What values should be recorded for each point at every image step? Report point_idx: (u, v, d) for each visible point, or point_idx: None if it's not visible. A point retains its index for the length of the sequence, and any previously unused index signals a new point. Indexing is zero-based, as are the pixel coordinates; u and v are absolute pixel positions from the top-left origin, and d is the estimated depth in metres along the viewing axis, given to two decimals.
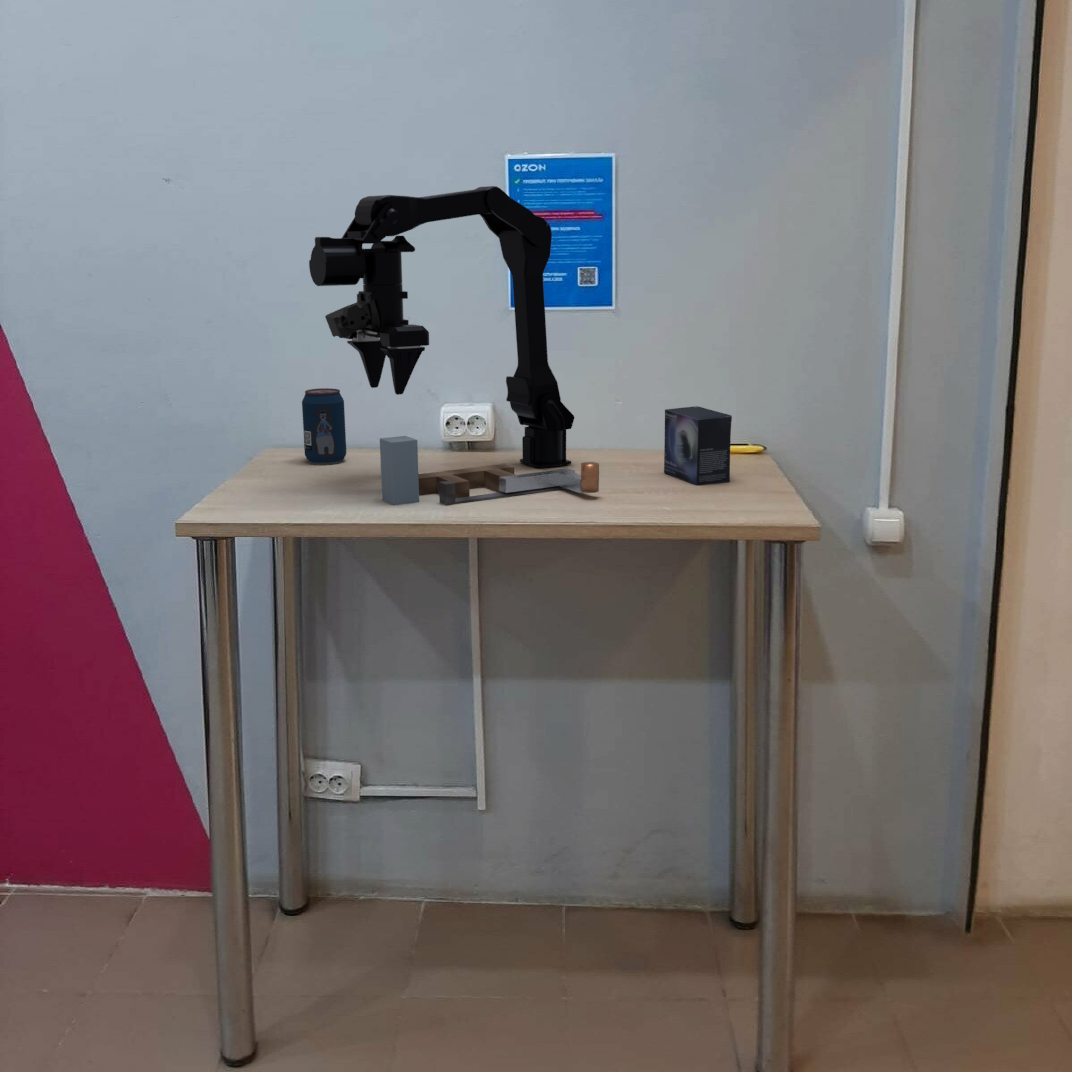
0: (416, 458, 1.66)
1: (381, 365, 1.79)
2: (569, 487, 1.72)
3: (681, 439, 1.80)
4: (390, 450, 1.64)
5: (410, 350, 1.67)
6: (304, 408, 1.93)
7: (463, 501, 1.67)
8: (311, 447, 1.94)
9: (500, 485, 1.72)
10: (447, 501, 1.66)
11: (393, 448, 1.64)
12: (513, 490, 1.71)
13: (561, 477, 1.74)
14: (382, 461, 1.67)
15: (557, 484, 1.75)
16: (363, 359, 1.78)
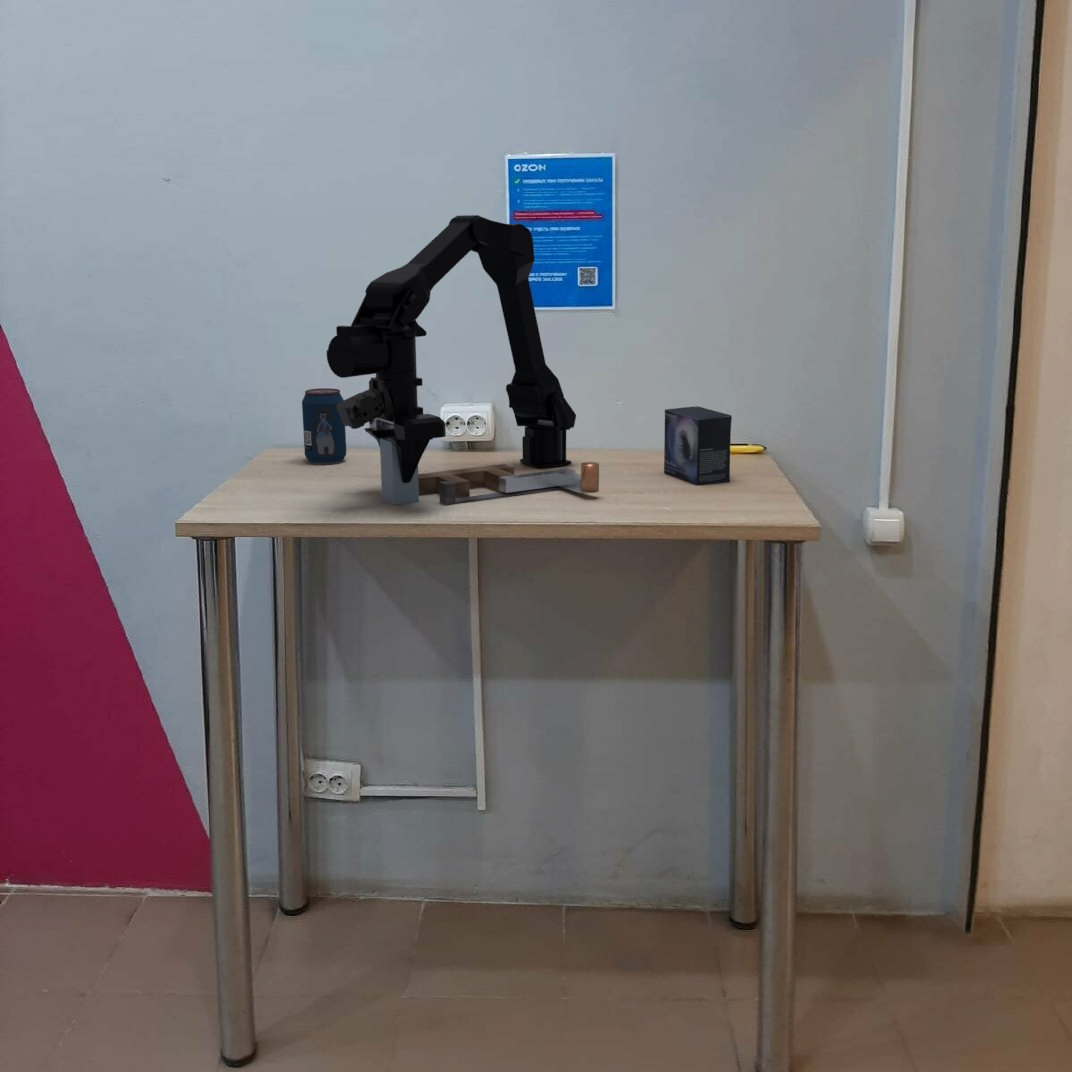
0: None
1: None
2: (569, 487, 1.72)
3: (681, 439, 1.80)
4: (390, 450, 1.64)
5: (418, 439, 1.62)
6: (304, 408, 1.93)
7: (463, 501, 1.67)
8: (311, 447, 1.94)
9: (500, 485, 1.72)
10: (447, 501, 1.66)
11: (393, 448, 1.64)
12: (513, 490, 1.71)
13: (561, 477, 1.74)
14: (382, 461, 1.67)
15: (557, 484, 1.75)
16: None
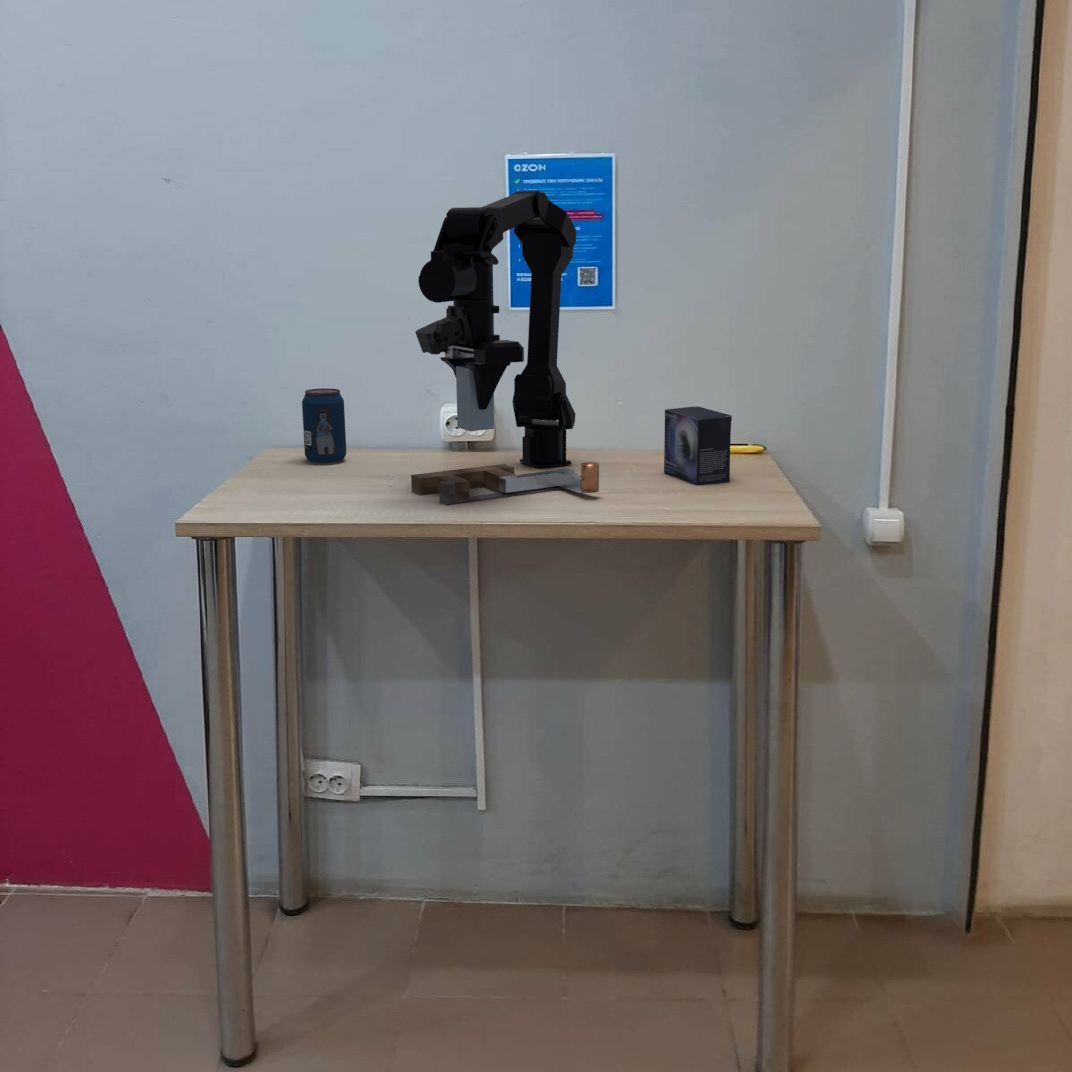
0: None
1: None
2: (569, 487, 1.72)
3: (681, 439, 1.80)
4: (467, 376, 1.67)
5: (496, 365, 1.65)
6: (304, 408, 1.93)
7: (463, 501, 1.67)
8: (311, 447, 1.94)
9: (500, 485, 1.72)
10: (447, 501, 1.66)
11: (471, 374, 1.67)
12: (513, 490, 1.71)
13: (561, 477, 1.74)
14: (458, 388, 1.70)
15: (557, 484, 1.75)
16: None
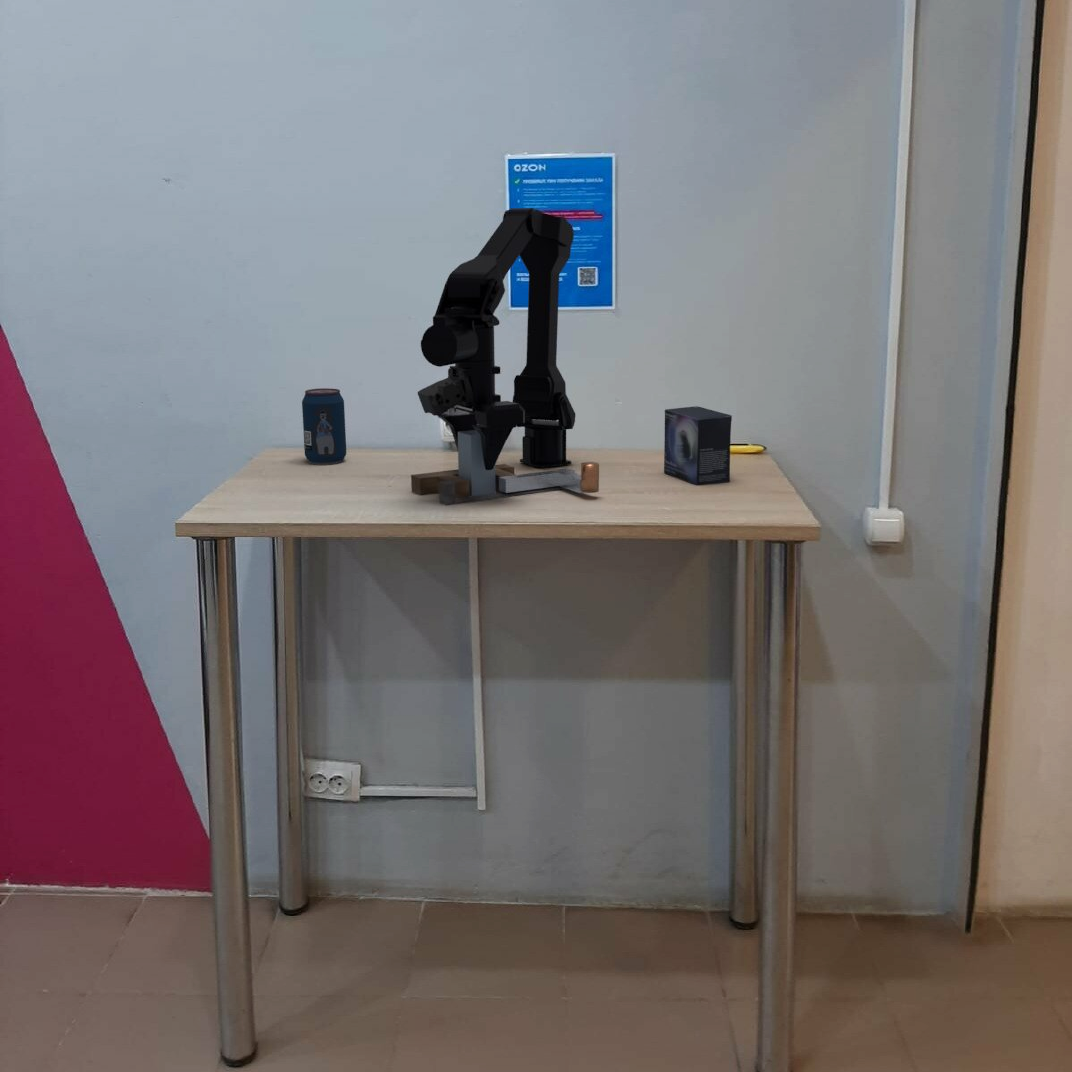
0: None
1: None
2: (569, 487, 1.72)
3: (681, 439, 1.80)
4: (469, 443, 1.70)
5: (503, 427, 1.65)
6: (304, 408, 1.93)
7: (463, 501, 1.67)
8: (311, 447, 1.94)
9: (500, 485, 1.72)
10: (447, 501, 1.66)
11: (472, 441, 1.69)
12: (513, 490, 1.71)
13: (561, 477, 1.74)
14: (460, 454, 1.72)
15: (557, 484, 1.75)
16: (454, 433, 1.75)
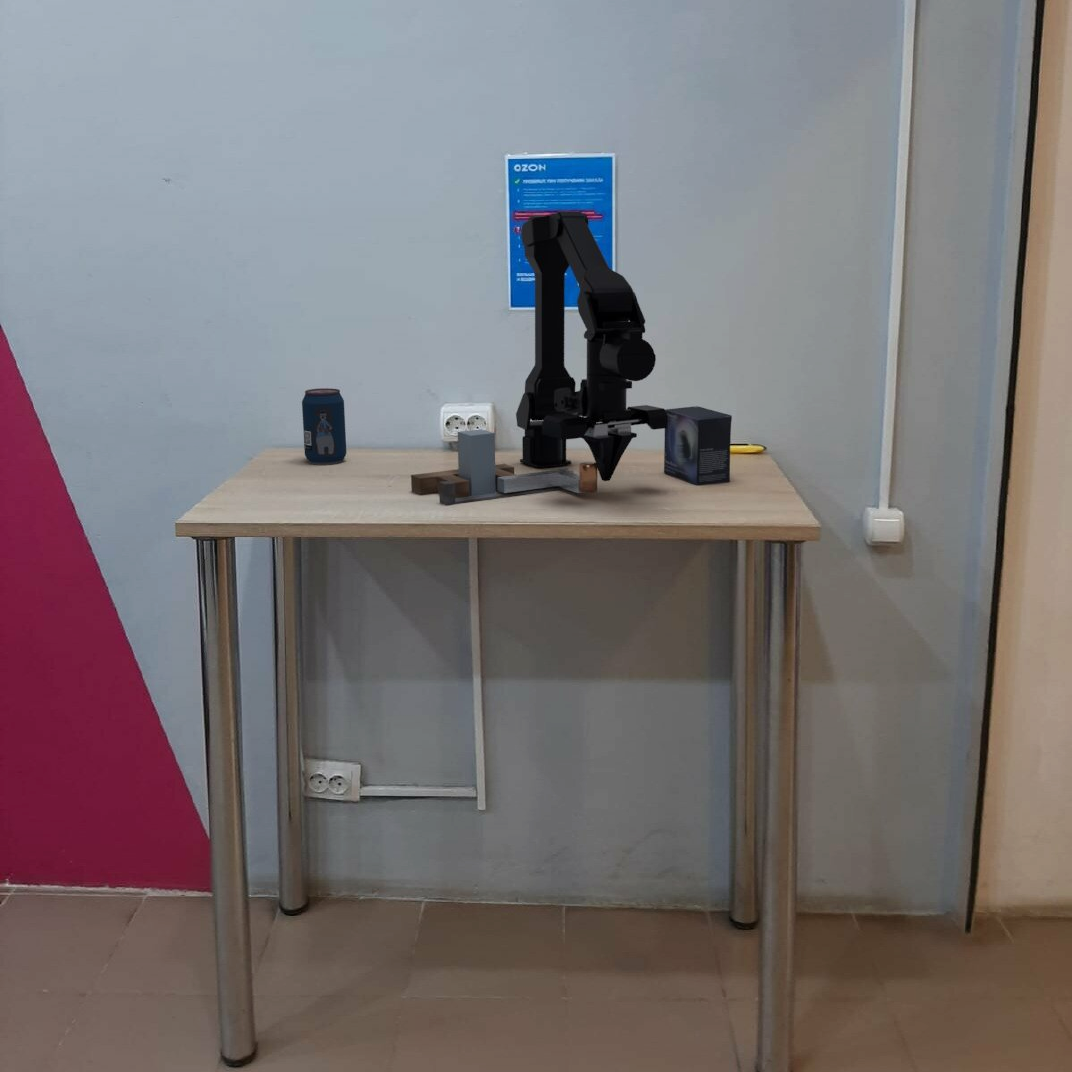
0: (493, 451, 1.71)
1: (612, 459, 1.69)
2: (567, 487, 1.72)
3: (681, 439, 1.80)
4: (468, 443, 1.70)
5: (587, 438, 1.67)
6: (304, 408, 1.93)
7: (463, 501, 1.67)
8: (311, 447, 1.94)
9: (498, 485, 1.71)
10: (447, 501, 1.66)
11: (472, 441, 1.69)
12: (511, 490, 1.71)
13: (559, 477, 1.74)
14: (460, 454, 1.72)
15: (555, 484, 1.75)
16: None
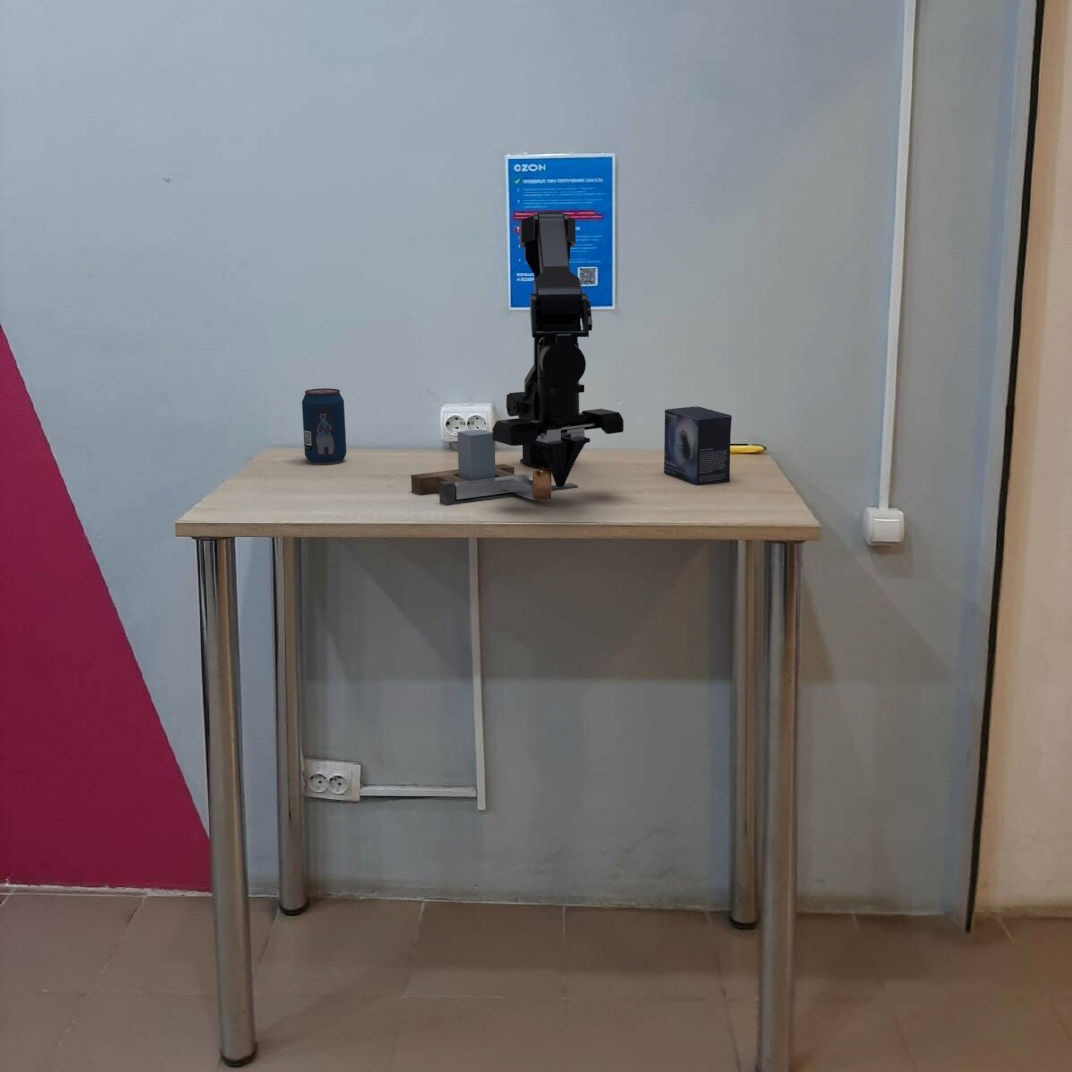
0: (493, 451, 1.71)
1: (565, 465, 1.65)
2: (522, 493, 1.68)
3: (681, 439, 1.80)
4: (468, 443, 1.70)
5: (539, 443, 1.63)
6: (304, 408, 1.93)
7: (463, 501, 1.67)
8: (311, 447, 1.94)
9: None
10: (447, 501, 1.66)
11: (472, 441, 1.69)
12: (464, 497, 1.67)
13: (514, 483, 1.70)
14: (460, 454, 1.72)
15: (510, 490, 1.71)
16: None
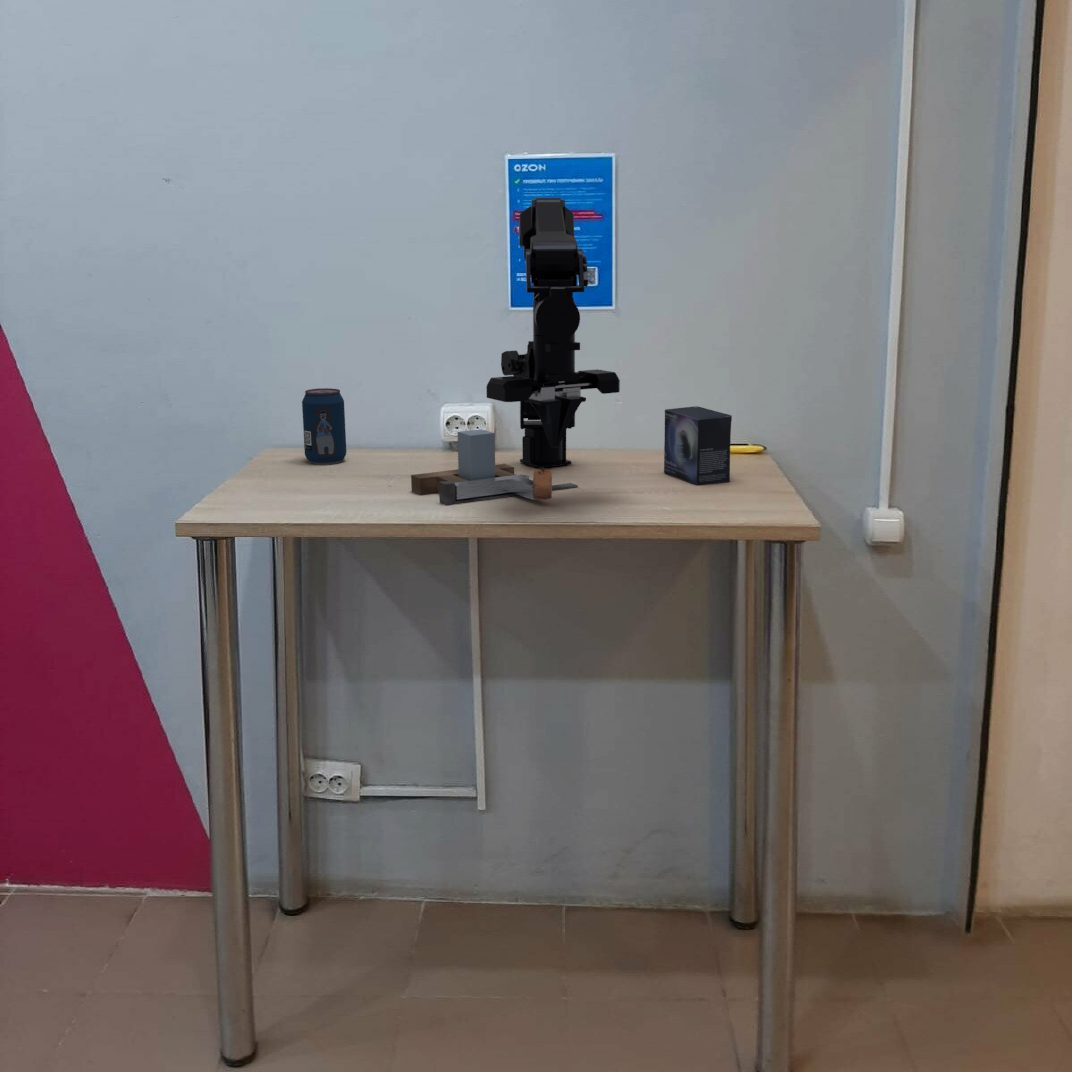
0: (493, 451, 1.71)
1: (561, 424, 1.63)
2: (522, 493, 1.68)
3: (681, 439, 1.80)
4: (468, 443, 1.70)
5: (533, 402, 1.61)
6: (304, 408, 1.93)
7: (463, 501, 1.67)
8: (311, 447, 1.94)
9: None
10: (447, 501, 1.66)
11: (472, 441, 1.69)
12: (464, 497, 1.67)
13: (514, 483, 1.70)
14: (460, 454, 1.72)
15: (511, 490, 1.71)
16: None
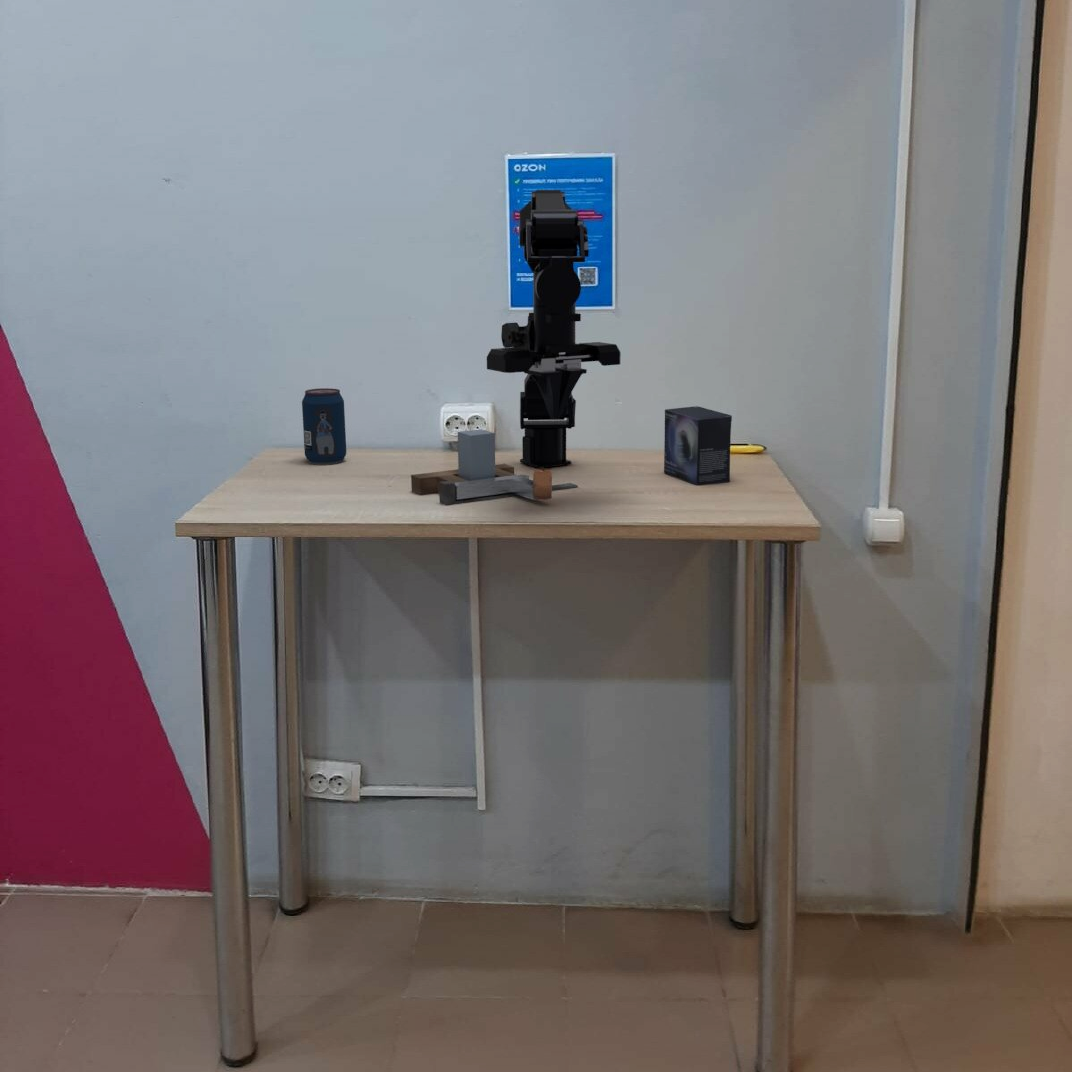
0: (493, 451, 1.71)
1: (561, 396, 1.62)
2: (522, 493, 1.68)
3: (681, 439, 1.80)
4: (468, 443, 1.70)
5: (533, 373, 1.60)
6: (304, 408, 1.93)
7: (463, 501, 1.67)
8: (311, 447, 1.94)
9: None
10: (447, 501, 1.66)
11: (472, 441, 1.69)
12: (464, 497, 1.67)
13: (514, 483, 1.70)
14: (460, 454, 1.72)
15: (511, 490, 1.71)
16: None
